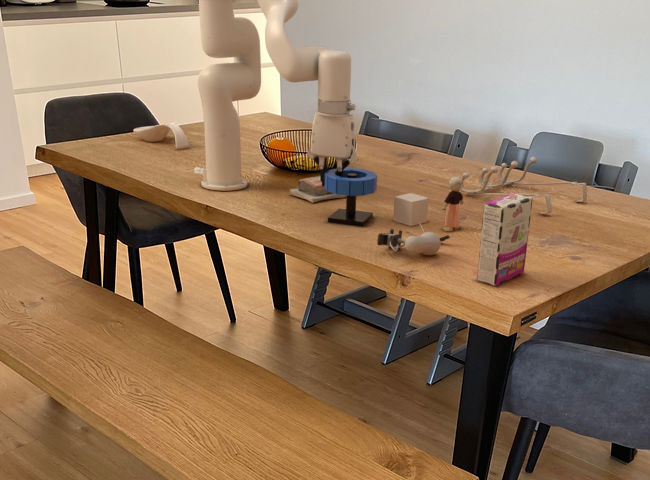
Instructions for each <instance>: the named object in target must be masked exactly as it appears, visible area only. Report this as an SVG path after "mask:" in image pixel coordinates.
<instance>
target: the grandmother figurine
mask: <svg viewBox="0 0 650 480" xmlns="http://www.w3.org/2000/svg"><path fill="white" fill-rule="evenodd" d="M462 183H463V184H464V182H463V181H462V177H459V176H456V175H455V176H453V177H452V178H449V181H448V186H449V188H450V191H449V192H448V194H447V195H446V198H445V199H444V201H443V204H442V207H441V210H442V211H446V213H445V217H444V224H443V227H442V230H443V231H444V232H453V231H455V230H459V229H460V226H461V221H460V220H461V217H460V216H461V215H460V213H461V212H460V205H461V206H463V205H464V203H465V202H464V197H463V194H462V192H460V190H461V184H462Z"/></svg>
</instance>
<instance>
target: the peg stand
mask: <svg viewBox="0 0 650 480" xmlns="http://www.w3.org/2000/svg"><path fill="white" fill-rule="evenodd" d="M347 178H357V174H354V173H349V174H347ZM345 200H346V201H345V208H338V209H337V210H335V211H333V213H331V214H330V215H329V216H328V217H327V223H330V224H336V225H337V224H338V225H344V226H345V225H346V226H352V227H361V228H363V227H364V226H365V225H366V224H367V223H368V222H370V220H371V219H373V218H374V212H371V211H365V210H364V211H363V210H357V196H350V195H349V196H347V195H346V197H345Z"/></svg>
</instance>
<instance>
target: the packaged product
mask: <svg viewBox="0 0 650 480" xmlns="http://www.w3.org/2000/svg"><path fill="white" fill-rule="evenodd" d="M297 184H298V186H297V187H295V188H290V189H289V193H290V196H294V197H297V198H300V199H303V200H307V201H308V202H310V203H317V202H322V201H326V200H332V199H338V198H341V199H342V198H346V195H338V194H334V193H331V192H328V191H327V190H326V189H325V188H324V186H322V182H321V181H320V175H318V176H317V175H316V176H312V177H306V178H305V177H304V178H301V179H299V180H298V182H297Z"/></svg>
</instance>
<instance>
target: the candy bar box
mask: <svg viewBox="0 0 650 480" xmlns="http://www.w3.org/2000/svg"><path fill="white" fill-rule="evenodd" d="M510 194H511V195H503V196H501V197H499V198H495V199H493V200H490V201H487V202H484V203H483V211H482V221H481V231H480V232H481V233H480V242H479V243H480V244H479V253H478V264H477V274H476V275H477V276H476V280H477V282H479V283H483V284H486V285H491V286H494V287H497V286H499V285H501V284H503V283H506V282H508V281H510V280H513V279H514V278H517V277H519V276H521V275H524V273H525V266H526V259H527V250H528V241H529V232H530V225H531V215H532V207H533V201H534V200H533V199H534V197H533V196H525V195H519V194H520V193H515V192H514V193H510Z"/></svg>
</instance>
